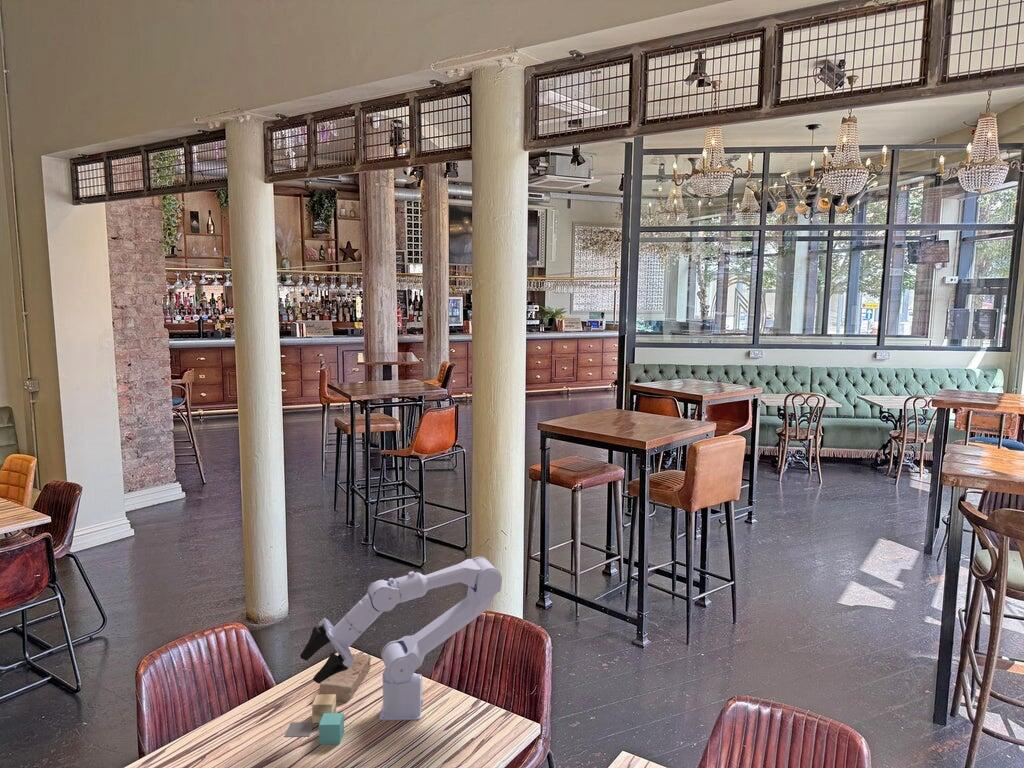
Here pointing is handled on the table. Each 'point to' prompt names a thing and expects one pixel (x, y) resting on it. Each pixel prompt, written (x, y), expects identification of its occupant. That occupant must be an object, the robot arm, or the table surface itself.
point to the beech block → (323, 706)
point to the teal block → (331, 728)
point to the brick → (347, 679)
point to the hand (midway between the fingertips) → (309, 669)
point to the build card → (299, 729)
